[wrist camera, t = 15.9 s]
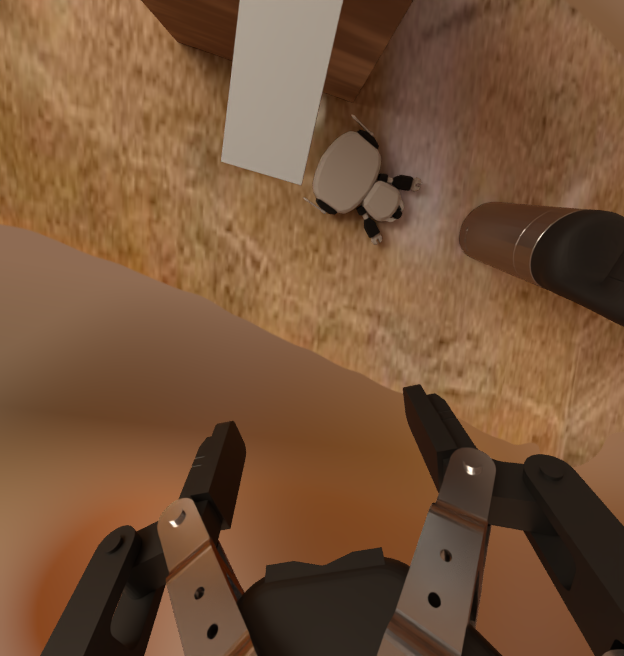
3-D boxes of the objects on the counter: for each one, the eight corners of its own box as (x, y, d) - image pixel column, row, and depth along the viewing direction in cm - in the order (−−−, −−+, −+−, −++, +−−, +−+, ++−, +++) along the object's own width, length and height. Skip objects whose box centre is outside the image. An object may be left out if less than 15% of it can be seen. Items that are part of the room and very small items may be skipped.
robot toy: (419, 179, 46) (343, 115, 41) (432, 180, 42) (350, 109, 37) (371, 246, 51) (298, 194, 46) (379, 252, 47) (300, 197, 42)
